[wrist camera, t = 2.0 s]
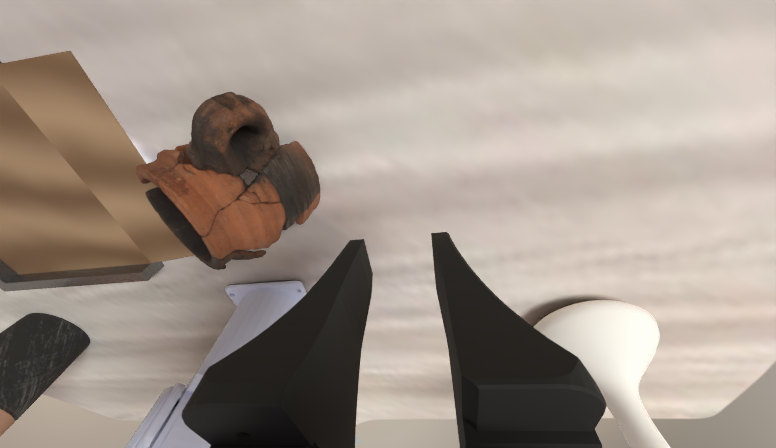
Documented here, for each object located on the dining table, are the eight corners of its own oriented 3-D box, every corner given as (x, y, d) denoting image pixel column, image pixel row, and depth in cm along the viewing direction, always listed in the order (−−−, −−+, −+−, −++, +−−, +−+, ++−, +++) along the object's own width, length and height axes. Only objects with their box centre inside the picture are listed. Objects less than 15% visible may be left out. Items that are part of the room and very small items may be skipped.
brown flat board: (210, 247, 26) (200, 258, 25) (36, 263, 29) (19, 274, 28) (82, 50, 18) (55, 51, 16) (-151, 99, 20) (-190, 103, 19)
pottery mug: (323, 235, 25) (239, 303, 19) (248, 175, 26) (152, 222, 21) (344, 110, 16) (198, 173, 10) (228, 32, 17) (52, 52, 12)
